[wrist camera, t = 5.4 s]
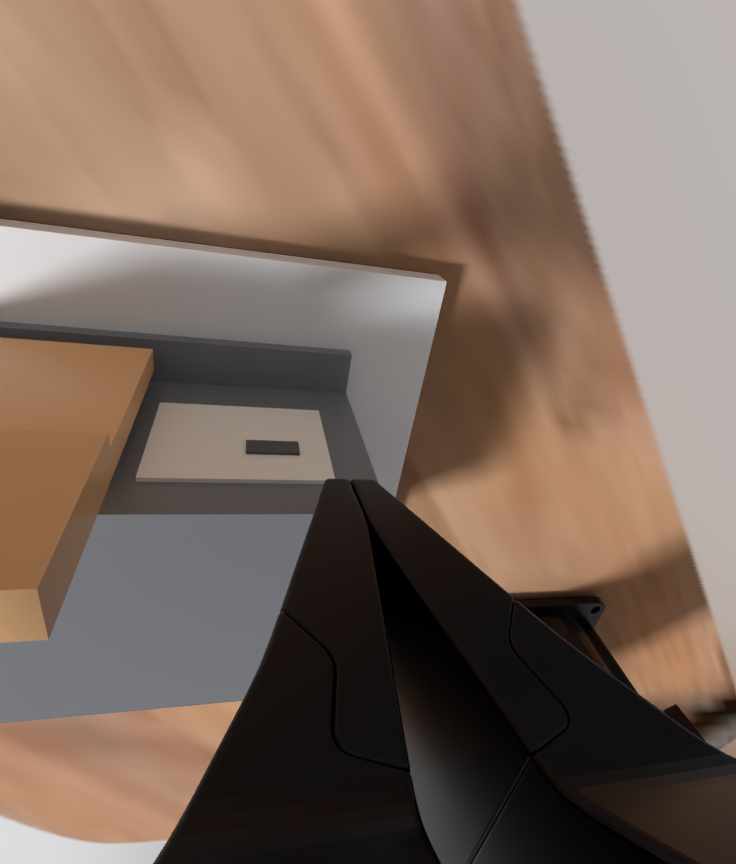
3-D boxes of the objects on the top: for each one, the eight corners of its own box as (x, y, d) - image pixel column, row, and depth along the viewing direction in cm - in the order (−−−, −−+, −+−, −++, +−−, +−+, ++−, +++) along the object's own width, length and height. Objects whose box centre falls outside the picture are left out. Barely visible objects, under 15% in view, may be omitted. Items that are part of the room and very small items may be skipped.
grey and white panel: (438, 274, 15) (553, 366, 9) (367, 584, 21) (410, 751, 16) (-371, 170, 10) (-1123, 226, 5) (-155, 604, 17) (-363, 851, 11)
